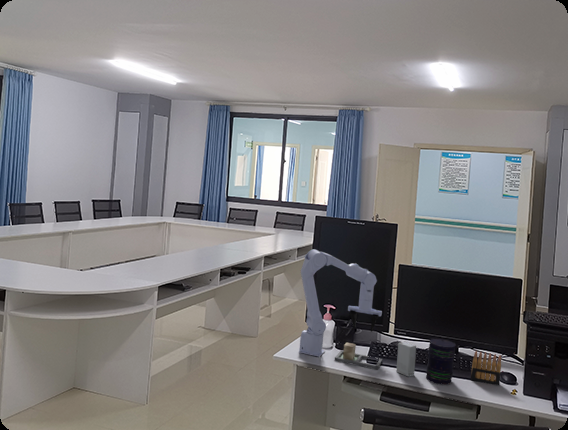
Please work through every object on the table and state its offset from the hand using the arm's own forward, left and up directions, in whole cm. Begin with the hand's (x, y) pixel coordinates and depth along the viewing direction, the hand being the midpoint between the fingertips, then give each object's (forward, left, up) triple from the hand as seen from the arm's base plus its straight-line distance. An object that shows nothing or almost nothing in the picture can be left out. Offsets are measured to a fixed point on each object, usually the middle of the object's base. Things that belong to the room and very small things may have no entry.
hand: (363, 329), depth 227 cm
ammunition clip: (+51, -5, -11) cm, 52 cm away
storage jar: (+34, -13, -11) cm, 38 cm away
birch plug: (-3, -11, -10) cm, 15 cm away
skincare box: (+21, -14, -11) cm, 27 cm away
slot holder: (+2, -11, -10) cm, 15 cm away
